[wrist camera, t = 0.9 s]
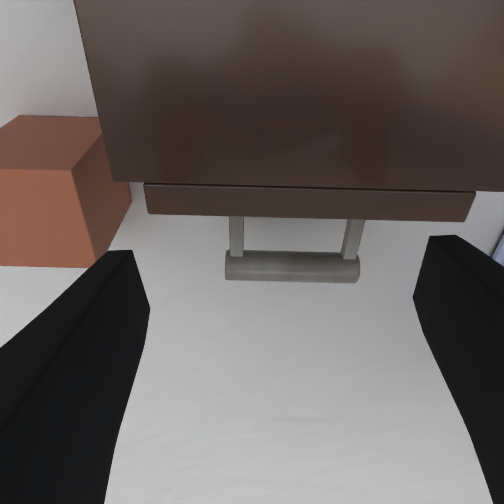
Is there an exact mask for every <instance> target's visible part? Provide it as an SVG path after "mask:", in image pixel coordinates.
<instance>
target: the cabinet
mask: <svg viewBox="0 0 504 504" xmlns="http://www.w3.org/2000/svg"><path fill="white" fill-rule="evenodd" d="M74 5H75V10H76V14H77V19H78V23H79V28H80V33H81V37H82V42H83V47H84V51H85V56H86V60H87V65H88V70H89V74H90V79H91V84H92V88H93V93H94V97H95V102H96V107H97V111H98V116H99V120H100V125H101V130H102V134H103V139H104V144H105V148H106V153H107V157H108V162H109V167H110V171H111V176H112V180H113V181H114V182H149V183H187V184H225V185H263V186H301V187H340V188H378V189H416V190H454V191H492V192H504V0H74Z"/></svg>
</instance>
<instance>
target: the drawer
mask: <svg viewBox="0 0 504 504" xmlns="http://www.w3.org/2000/svg"><path fill="white" fill-rule="evenodd" d="M143 187H144V193H145V199H146V205H147V211H148V214H163V215H201V216H229V237H230V250H227V251H226V256H225V278H226V280H239V281H279V282H319V283H357V281H358V279H359V275H360V260H359V256H358V254H357V252H358V248H359V244H360V240H361V236H362V231H363V227H364V223H365V220H395V221H434V222H464V221H465V220H466V217H467V215H468V212H469V210H470V208H471V205H472V203H473V201H474V198H475V196H476V191H454V190H416V189H378V188H340V187H301V186H263V185H225V184H187V183H149V182H144V184H143ZM244 217H279V218H317V219H347V224H346V229H345V234H344V239H343V244H342V249H341V253H338V252H299V251H260V250H244Z"/></svg>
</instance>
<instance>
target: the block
mask: <svg viewBox="0 0 504 504" xmlns="http://www.w3.org/2000/svg"><path fill="white" fill-rule="evenodd" d="M131 203H132V201H131V195H130V190H129V185H128V182H114V181H113V180H112V176H111V171H110V167H109V162H108V157H107V153H106V148H105V144H104V139H103V134H102V130H101V125H100V120H99V117H62V116H24V115H19V116H17V117H16V118H14V119H13V120H11V121H10V122H8V123H7V124H6V125H4V126H3V127H1V128H0V266H28V267H68V268H90V267H91V266H92V265H93V264H94V263H95V262H96V261H97V260H98V259H99V258H100V257H101V256H102V255H104V254H105V253H106V252H107V250H108V248H109V246H110V244H111V242H112V240H113V238H114V236H115V234H116V232H117V230H118V228H119V226H120V224H121V222H122V220H123V218H124V216H125V214H126V212H127V210H128V209H129V207H130V205H131Z"/></svg>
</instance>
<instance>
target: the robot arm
mask: <svg viewBox="0 0 504 504" xmlns="http://www.w3.org/2000/svg"><path fill="white" fill-rule="evenodd" d="M413 301H414V304H415V308H416V311H417V314H418V318H419V321H420V324H421V327H422V330H423V333H424V336H425V338H426V340H427V343H428V345H429V347H430V349H431V351H432V354H433V356H434V358H435V360H436V362H437V364H438V367H439V369H440V371H441V373H442V375H443V377H444V379H445V382H446V384H447V386H448V388H449V390H450V392H451V394H452V396H453V399H454V401H455V403H456V405H457V407H458V409H459V411H460V414H461V416H462V418H463V420H464V423H465V425H466V427H467V430H468V432H469V435H470V437H471V440H472V442H473V445H474V448H475V451H476V454H477V457H478V460H479V462H480V465H481V468H482V471H483V474H484V477H485V480H486V483H487V486H488V489H489V492H490V495H491V498H492V501H493V504H504V235H503V237H502V239H501V241H500V243H499V245H498V246H497V248H496V250H495V252H494V254H493V256H492V258H491V257H489V256H488V255H486V254H485V253H483V252H482V251H480V250H479V249H477V248H476V247H474V246H473V245H471V244H470V243H468V242H467V241H465V240H464V239H462V238H460V237H459V236H457V235H440V236H429V240H428V244H427V247H426V251H425V254H424V258H423V262H422V265H421V269H420V272H419V276H418V280H417V283H416V287H415V291H414V294H413ZM149 313H150V306H149V303H148V299H147V296H146V293H145V290H144V287H143V283H142V280H141V277H140V274H139V270H138V267H137V264H136V261H135V258H134V254H133V251H132V250H116V251H107V252H106V253H105V254H104V255H102V256H101V257H100V258H99V259H98V260H97V261H96V262H95V263H94V264H93V265H92V266H91V267H90V268H88V269H87V270H86V271H85V272H84V273H83V274H82V275H81V276H80V277H79V278H78V279H77V280H76V281H75V282H74V283H73V284H72V285H71V286H70V287H69V288H68V289H66V290H65V291H64V292H63V293H62V294H61V295H60V296H59V297H58V298H57V299H56V300H55V301H54V302H53V303H52V304H50V305H49V306H48V307H47V308H46V309H45V310H44V311H43V312H42V313H40V314H39V315H38V316H37V317H36V318H35V319H34V320H32V321H31V322H30V323H29V324H28V325H27V326H25V327H24V328H23V329H22V330H21V331H20V332H18V333H17V334H16V335H15V336H14V337H13V338H12V339H10V340H9V341H8V342H7V343H6V344H4V345H3V346H2V347H1V348H0V504H104V501H105V496H106V490H107V485H108V480H109V475H110V469H111V464H112V459H113V454H114V449H115V445H116V441H117V437H118V433H119V429H120V426H121V423H122V419H123V416H124V413H125V409H126V406H127V403H128V399H129V396H130V393H131V389H132V386H133V383H134V379H135V376H136V372H137V369H138V366H139V362H140V359H141V355H142V352H143V348H144V345H145V339H146V333H147V327H148V320H149Z"/></svg>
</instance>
